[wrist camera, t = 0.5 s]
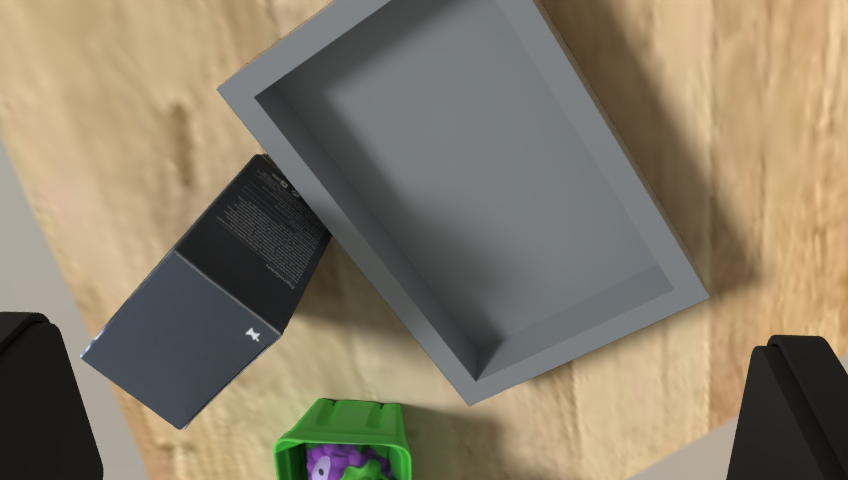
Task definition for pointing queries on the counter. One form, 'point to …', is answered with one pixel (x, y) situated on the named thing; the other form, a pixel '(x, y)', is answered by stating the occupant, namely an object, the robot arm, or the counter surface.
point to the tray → (469, 181)
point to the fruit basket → (345, 443)
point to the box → (214, 297)
